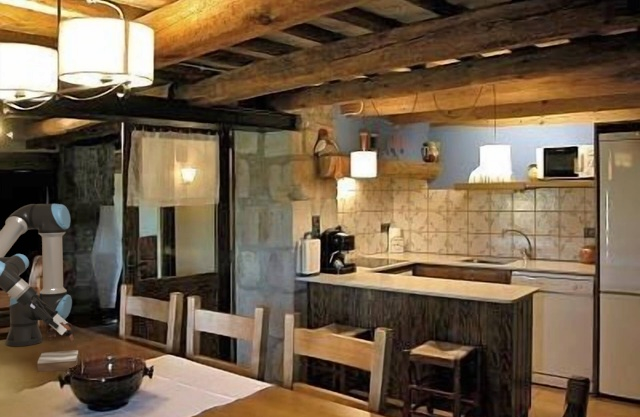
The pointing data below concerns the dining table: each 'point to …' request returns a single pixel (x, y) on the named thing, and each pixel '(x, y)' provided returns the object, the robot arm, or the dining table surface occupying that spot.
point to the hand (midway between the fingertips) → (65, 329)
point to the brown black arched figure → (67, 332)
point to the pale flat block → (58, 360)
